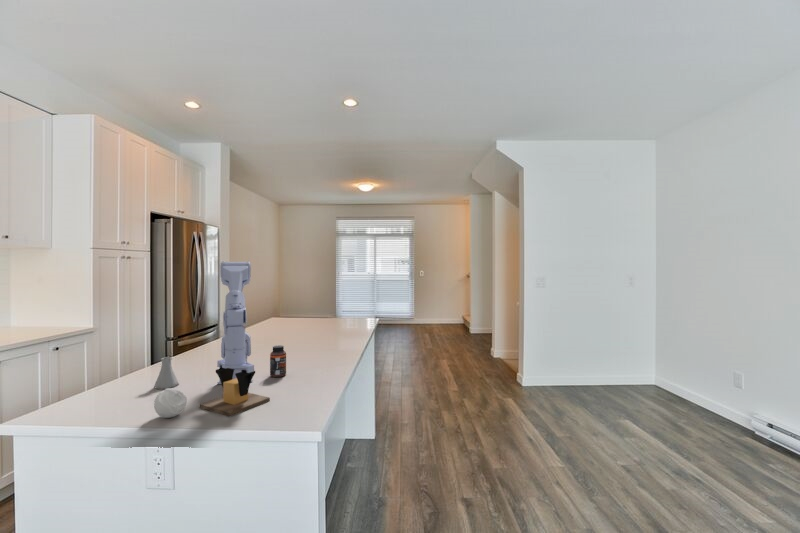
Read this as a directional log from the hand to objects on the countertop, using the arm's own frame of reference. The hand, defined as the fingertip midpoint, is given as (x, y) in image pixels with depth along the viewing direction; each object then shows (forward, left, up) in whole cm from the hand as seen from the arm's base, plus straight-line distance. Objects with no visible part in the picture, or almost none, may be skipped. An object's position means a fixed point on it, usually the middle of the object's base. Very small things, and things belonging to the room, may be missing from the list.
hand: (235, 393), depth 114 cm
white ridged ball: (-8, -15, -4) cm, 17 cm away
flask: (-37, 0, -4) cm, 37 cm away
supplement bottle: (-12, +28, -4) cm, 31 cm away
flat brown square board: (0, 0, -3) cm, 3 cm away
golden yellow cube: (0, 0, -2) cm, 2 cm away
